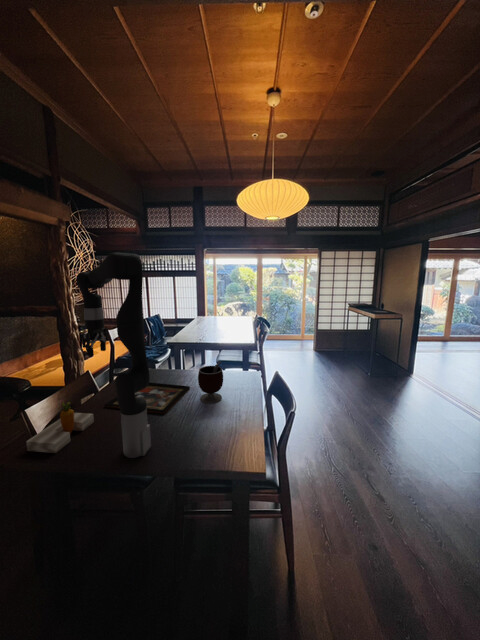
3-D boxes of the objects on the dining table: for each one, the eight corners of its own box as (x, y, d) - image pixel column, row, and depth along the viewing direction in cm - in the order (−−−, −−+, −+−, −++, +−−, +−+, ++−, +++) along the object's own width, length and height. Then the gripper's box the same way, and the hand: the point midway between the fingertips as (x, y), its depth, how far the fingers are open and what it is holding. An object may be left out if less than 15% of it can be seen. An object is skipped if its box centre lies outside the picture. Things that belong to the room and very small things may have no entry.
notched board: (94, 421, 120) (93, 413, 119) (55, 453, 98) (54, 443, 97) (70, 420, 121) (69, 412, 120) (27, 450, 99) (26, 441, 99)
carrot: (61, 435, 109) (57, 402, 107) (74, 430, 113) (71, 398, 110) (63, 440, 106) (59, 406, 103) (77, 435, 109) (74, 402, 107)
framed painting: (191, 386, 160) (191, 382, 160) (171, 416, 126) (171, 411, 125) (134, 384, 164) (134, 380, 163) (99, 413, 129) (98, 408, 129)
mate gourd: (211, 407, 134) (210, 370, 130) (193, 399, 142) (192, 365, 139) (230, 396, 146) (230, 363, 143) (212, 390, 154) (212, 358, 151)
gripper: (91, 320, 105) (94, 358, 107) (111, 315, 119) (114, 349, 121) (74, 320, 106) (78, 357, 108) (96, 315, 120) (99, 348, 122)
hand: (97, 353), depth 115 cm, fingers open, 8 cm apart
